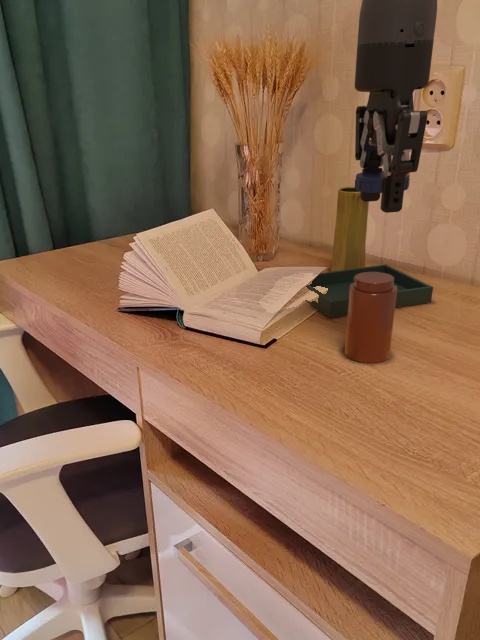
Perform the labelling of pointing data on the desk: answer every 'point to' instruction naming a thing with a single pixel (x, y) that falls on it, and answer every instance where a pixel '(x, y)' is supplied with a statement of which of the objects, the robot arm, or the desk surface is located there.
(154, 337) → the desk surface
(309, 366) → the desk surface
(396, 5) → the robot arm
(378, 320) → the jar
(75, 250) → the desk surface
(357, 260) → the vase
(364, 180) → the lid
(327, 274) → the tray
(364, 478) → the desk surface
